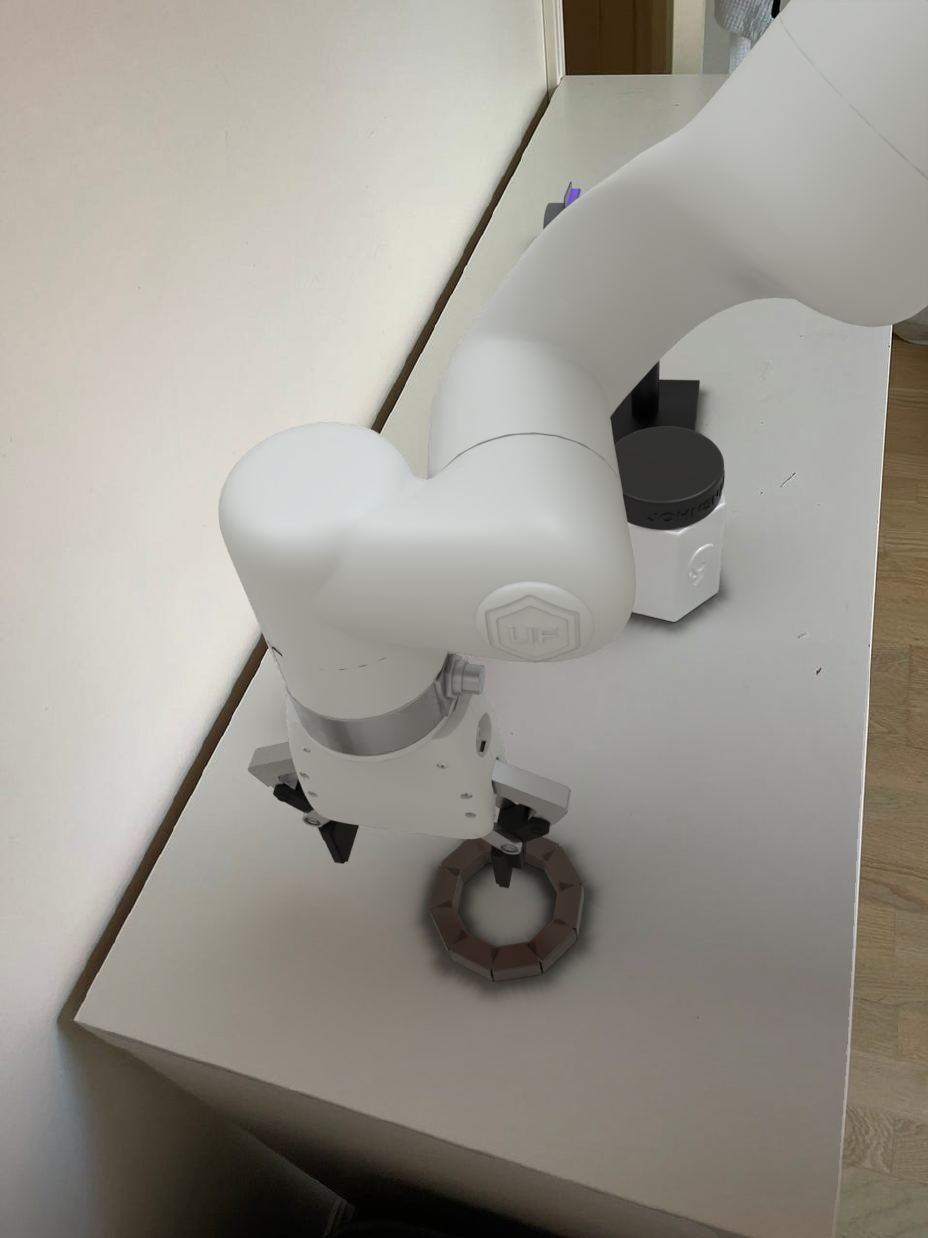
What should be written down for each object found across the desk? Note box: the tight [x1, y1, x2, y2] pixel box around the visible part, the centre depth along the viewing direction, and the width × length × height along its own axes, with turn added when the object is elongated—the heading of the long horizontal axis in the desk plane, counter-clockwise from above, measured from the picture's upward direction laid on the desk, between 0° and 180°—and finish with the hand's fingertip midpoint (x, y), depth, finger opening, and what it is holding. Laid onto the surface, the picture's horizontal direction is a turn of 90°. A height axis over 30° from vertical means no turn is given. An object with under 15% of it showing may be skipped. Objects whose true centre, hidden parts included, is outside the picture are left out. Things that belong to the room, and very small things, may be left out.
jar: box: [614, 426, 727, 623], centre depth 73 cm, size 9×8×12 cm
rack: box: [610, 359, 701, 445], centre depth 85 cm, size 9×9×12 cm
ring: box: [428, 836, 585, 982], centre depth 61 cm, size 9×10×2 cm
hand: (426, 852), depth 58 cm, fingers open, 9 cm apart
